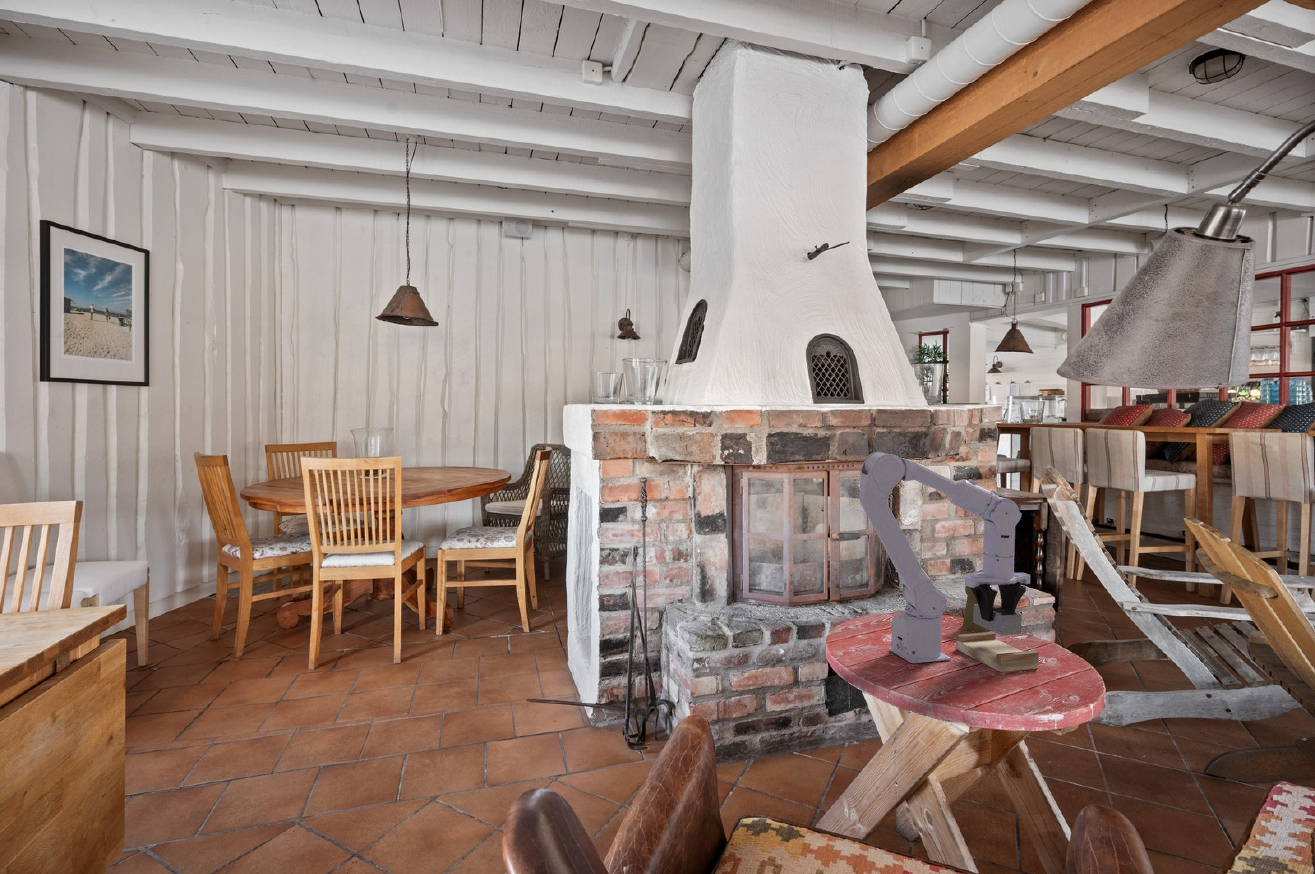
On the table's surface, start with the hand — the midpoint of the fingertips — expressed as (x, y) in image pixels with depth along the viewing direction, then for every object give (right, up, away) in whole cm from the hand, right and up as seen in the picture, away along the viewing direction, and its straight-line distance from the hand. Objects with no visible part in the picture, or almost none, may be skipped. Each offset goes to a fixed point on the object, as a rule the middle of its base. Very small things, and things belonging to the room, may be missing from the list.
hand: (996, 619), depth 129 cm
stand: (0, -8, 0) cm, 8 cm away
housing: (0, -2, 0) cm, 2 cm away
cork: (+6, -8, +19) cm, 22 cm away
